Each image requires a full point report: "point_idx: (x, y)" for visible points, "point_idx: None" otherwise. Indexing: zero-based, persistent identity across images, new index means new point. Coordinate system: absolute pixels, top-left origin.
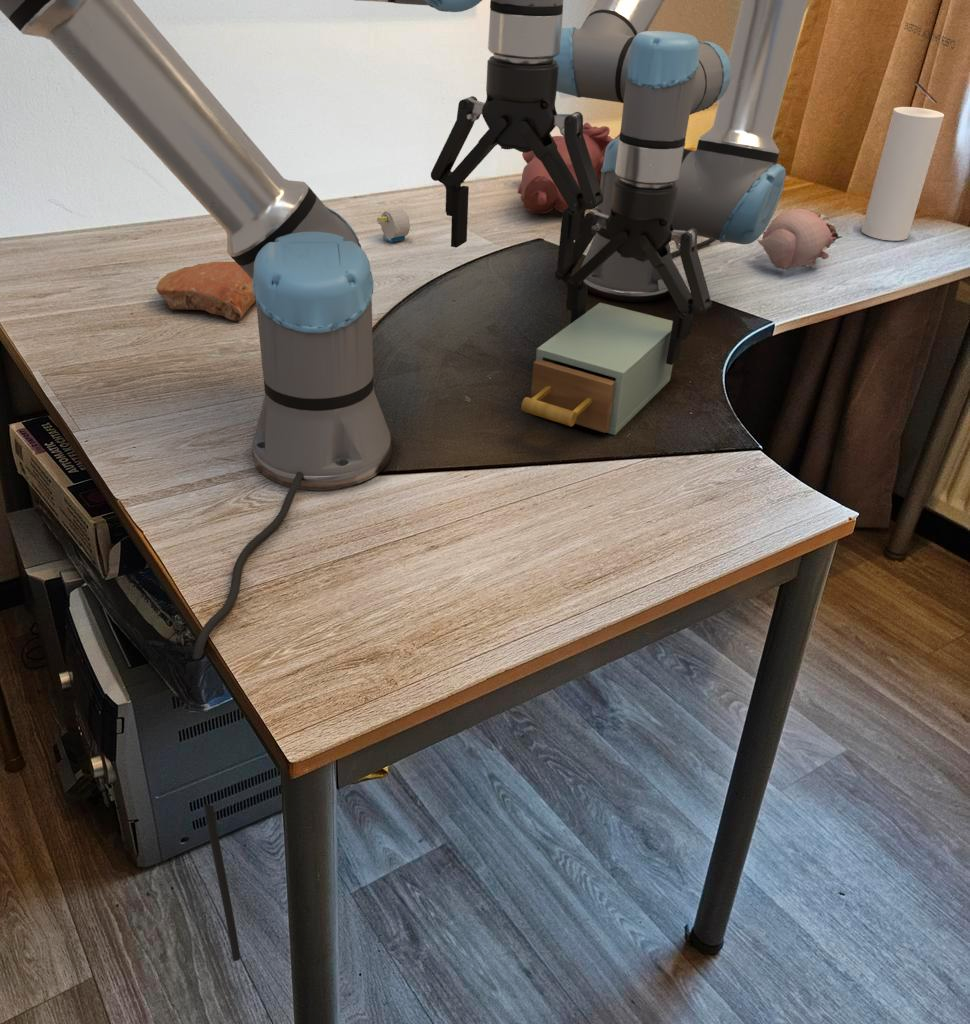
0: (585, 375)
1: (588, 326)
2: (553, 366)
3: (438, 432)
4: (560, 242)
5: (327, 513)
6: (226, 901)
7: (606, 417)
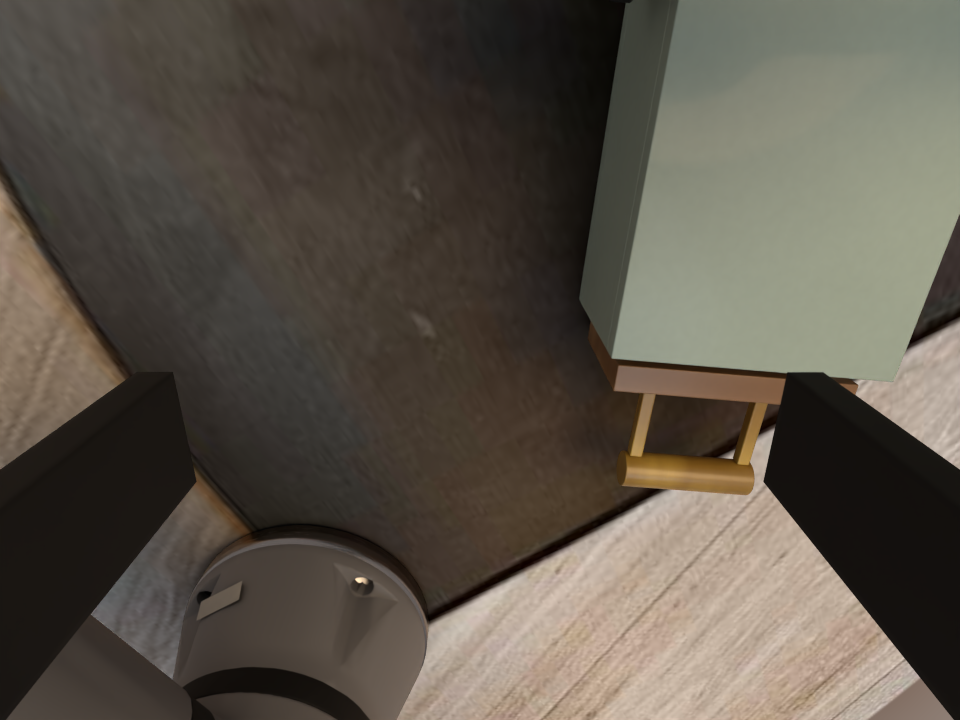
0: (771, 394)
1: (729, 90)
2: (673, 387)
3: (442, 475)
4: (847, 577)
5: (421, 715)
6: None
7: None
